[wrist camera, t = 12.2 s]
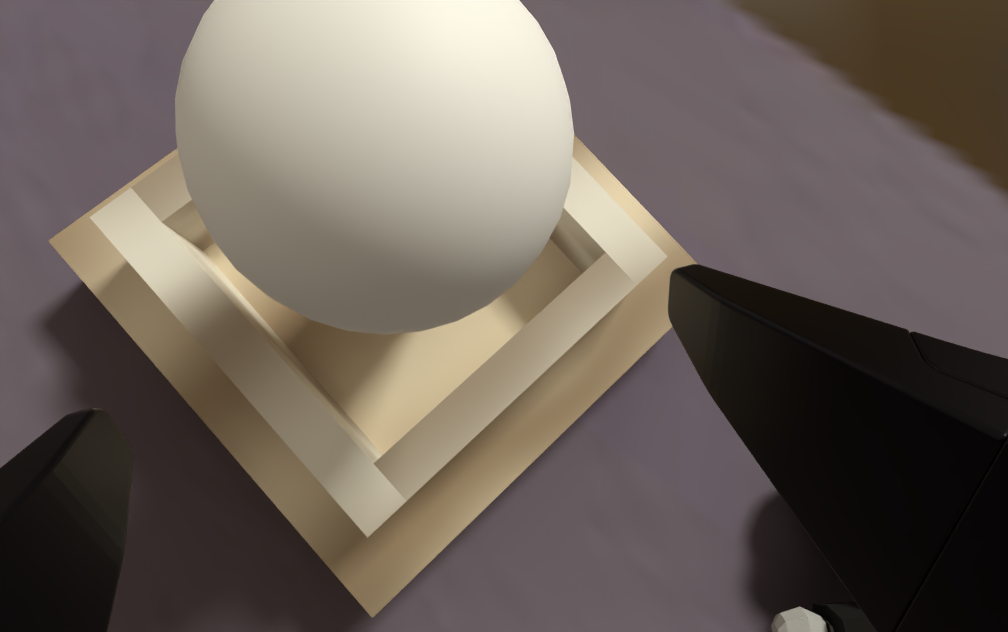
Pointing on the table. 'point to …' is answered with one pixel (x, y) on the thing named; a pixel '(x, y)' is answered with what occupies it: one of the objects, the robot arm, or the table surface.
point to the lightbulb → (375, 152)
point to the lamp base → (382, 367)
